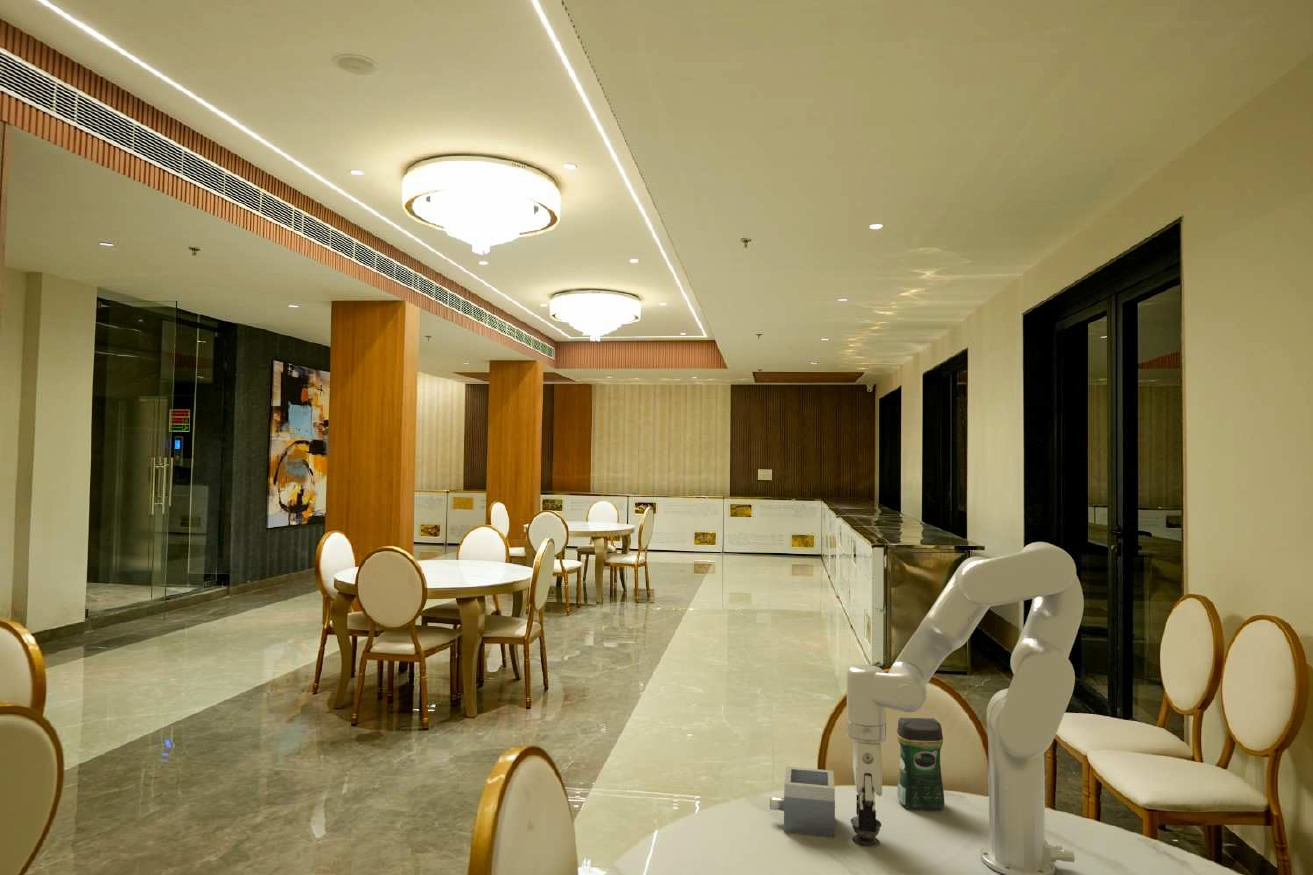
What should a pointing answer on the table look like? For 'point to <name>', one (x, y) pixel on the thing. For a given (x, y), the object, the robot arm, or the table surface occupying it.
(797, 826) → the grey open box
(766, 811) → the table surface
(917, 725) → the coffee jar
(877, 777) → the robot arm
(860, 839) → the dark grey turned piece
